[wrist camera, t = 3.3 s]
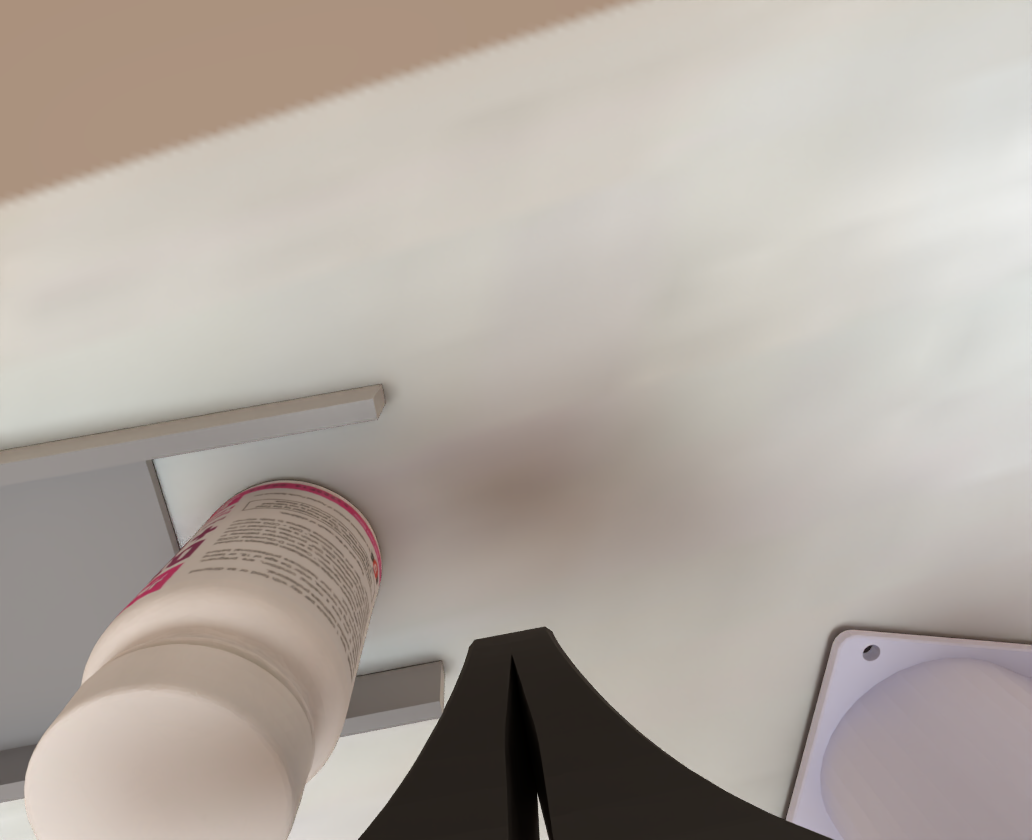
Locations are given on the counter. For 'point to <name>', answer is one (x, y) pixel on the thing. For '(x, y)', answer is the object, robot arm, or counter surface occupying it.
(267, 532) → the pill bottle
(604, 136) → the counter surface
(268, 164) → the counter surface
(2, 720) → the tray
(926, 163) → the counter surface
